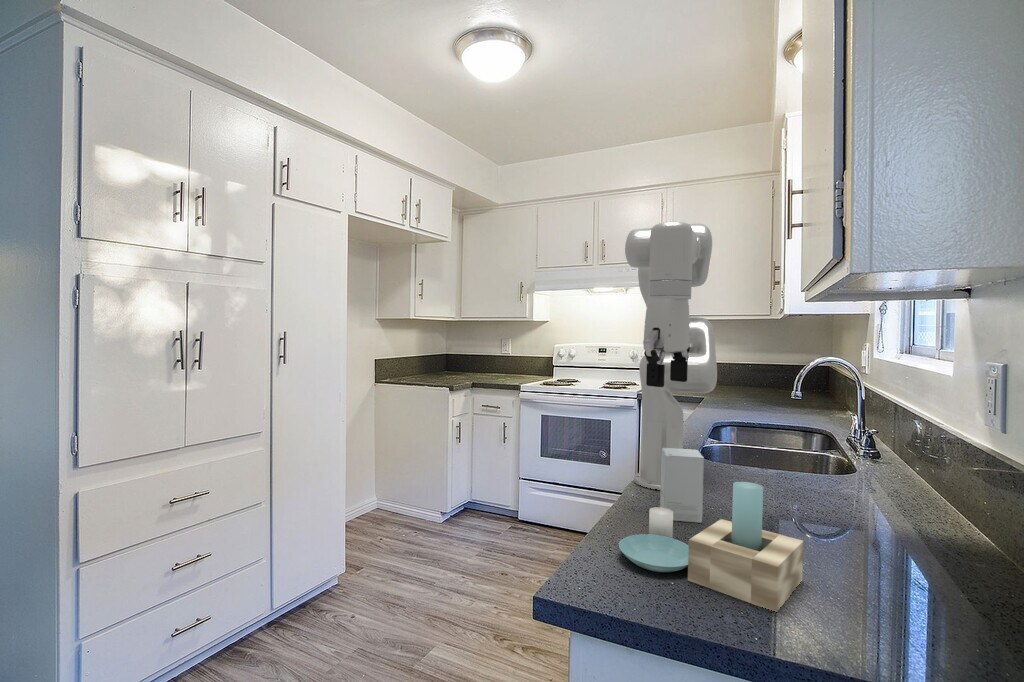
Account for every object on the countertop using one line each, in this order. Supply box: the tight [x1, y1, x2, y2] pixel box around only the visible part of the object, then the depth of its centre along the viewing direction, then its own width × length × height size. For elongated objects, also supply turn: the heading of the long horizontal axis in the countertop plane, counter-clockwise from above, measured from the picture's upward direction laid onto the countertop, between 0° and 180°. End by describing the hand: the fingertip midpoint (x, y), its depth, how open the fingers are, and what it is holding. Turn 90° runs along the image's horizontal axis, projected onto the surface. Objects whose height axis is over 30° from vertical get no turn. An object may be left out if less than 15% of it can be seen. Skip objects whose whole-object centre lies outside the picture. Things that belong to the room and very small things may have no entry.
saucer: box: [618, 533, 689, 574], centre depth 81 cm, size 12×12×2 cm
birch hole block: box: [687, 518, 804, 613], centre depth 75 cm, size 12×12×6 cm
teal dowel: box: [731, 481, 764, 552], centre depth 75 cm, size 4×4×14 cm
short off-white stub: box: [648, 506, 674, 539], centre depth 90 cm, size 4×4×5 cm
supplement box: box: [659, 448, 705, 524], centre depth 102 cm, size 7×7×13 cm
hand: (667, 383), depth 96 cm, fingers open, 9 cm apart
